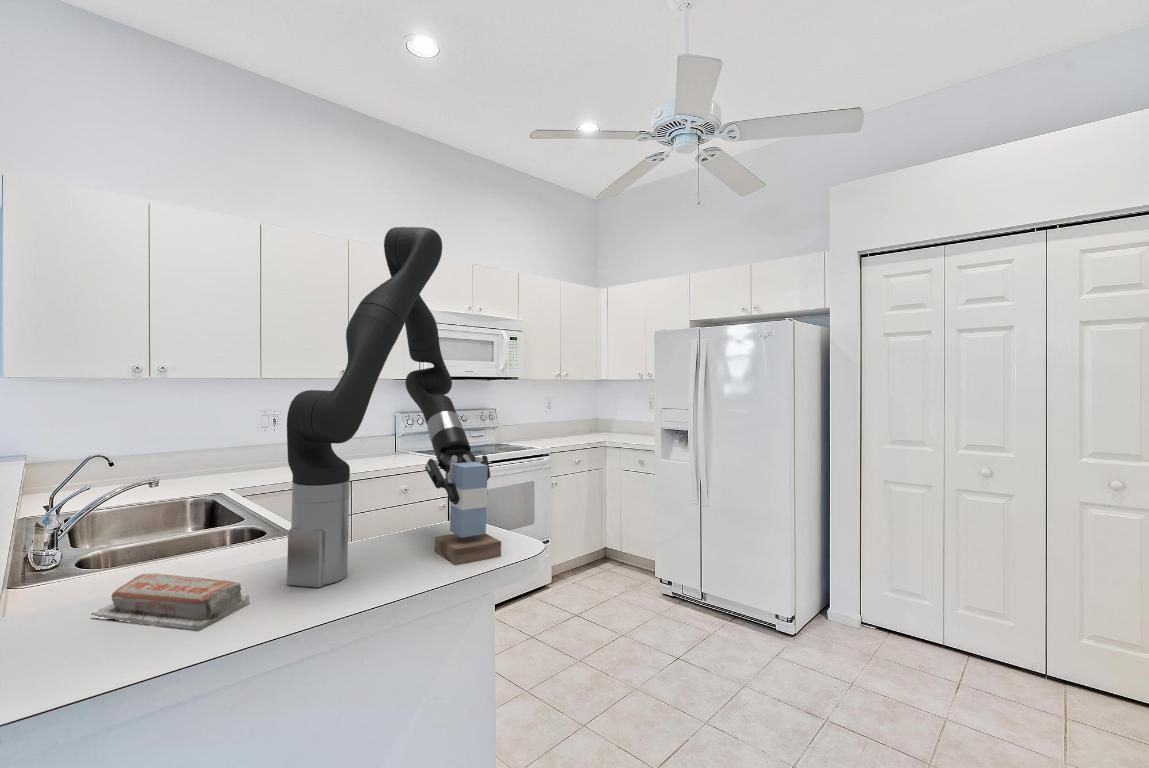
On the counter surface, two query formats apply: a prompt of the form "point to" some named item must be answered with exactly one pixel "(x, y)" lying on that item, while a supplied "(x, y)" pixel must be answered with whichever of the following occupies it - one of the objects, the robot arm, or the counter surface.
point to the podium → (467, 547)
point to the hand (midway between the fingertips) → (470, 500)
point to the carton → (469, 499)
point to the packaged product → (174, 601)
